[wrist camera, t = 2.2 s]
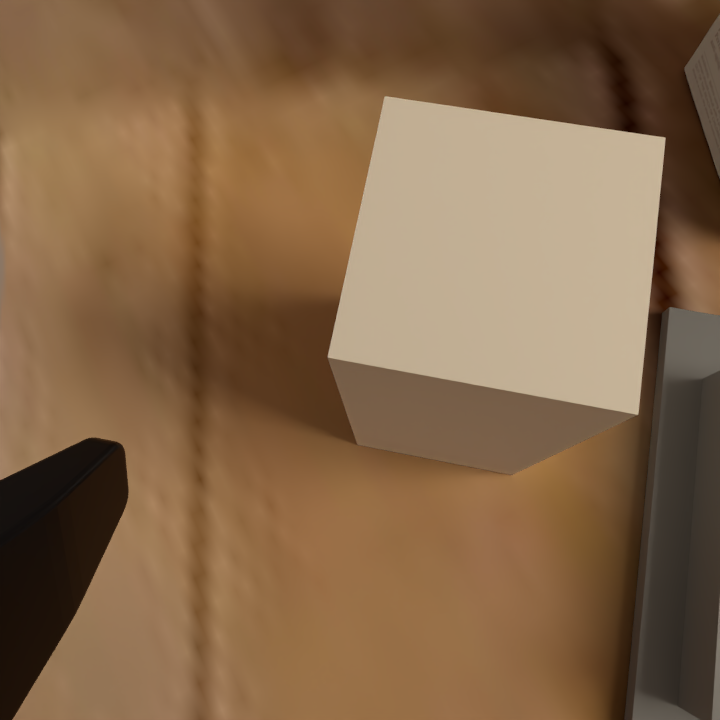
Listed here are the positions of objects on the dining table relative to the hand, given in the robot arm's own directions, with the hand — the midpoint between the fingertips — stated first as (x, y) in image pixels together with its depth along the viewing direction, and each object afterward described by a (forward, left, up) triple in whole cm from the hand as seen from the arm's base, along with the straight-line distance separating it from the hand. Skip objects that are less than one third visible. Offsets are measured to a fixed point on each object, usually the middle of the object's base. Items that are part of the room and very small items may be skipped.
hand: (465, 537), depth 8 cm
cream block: (+5, +1, -13) cm, 14 cm away
